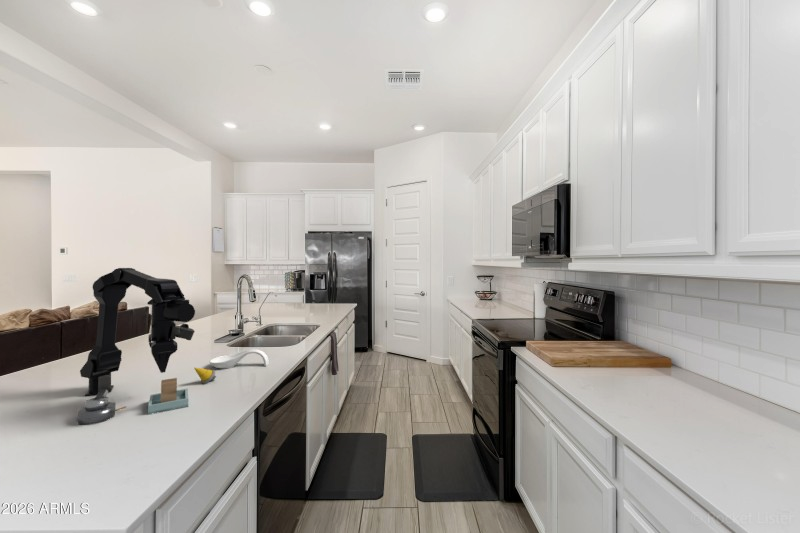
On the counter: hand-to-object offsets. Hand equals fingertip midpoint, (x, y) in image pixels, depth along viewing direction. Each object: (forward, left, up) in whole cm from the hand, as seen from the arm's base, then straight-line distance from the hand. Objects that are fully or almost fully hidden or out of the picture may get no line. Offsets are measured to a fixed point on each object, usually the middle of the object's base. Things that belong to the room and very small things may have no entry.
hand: (161, 368), depth 103 cm
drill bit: (-14, +13, -12) cm, 22 cm away
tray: (+1, +2, -12) cm, 12 cm away
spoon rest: (-30, +27, -12) cm, 42 cm away
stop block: (+1, +2, -11) cm, 11 cm away
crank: (-4, -15, -8) cm, 18 cm away
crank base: (+1, -14, -12) cm, 18 cm away
